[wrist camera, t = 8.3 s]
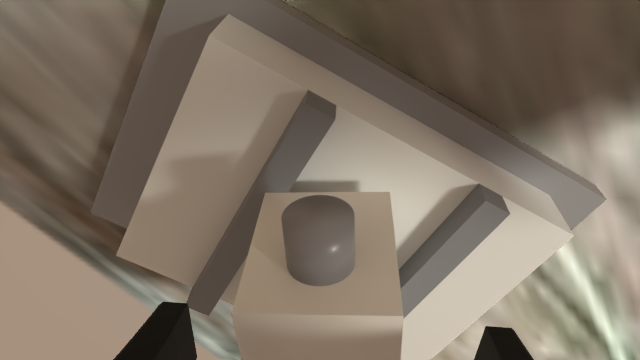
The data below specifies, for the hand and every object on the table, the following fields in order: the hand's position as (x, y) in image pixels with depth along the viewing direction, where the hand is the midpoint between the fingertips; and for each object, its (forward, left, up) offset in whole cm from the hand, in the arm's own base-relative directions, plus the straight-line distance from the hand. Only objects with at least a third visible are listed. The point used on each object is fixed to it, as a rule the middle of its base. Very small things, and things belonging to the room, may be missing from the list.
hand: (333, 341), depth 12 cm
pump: (-1, +2, -5) cm, 5 cm away
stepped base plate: (-1, +2, -9) cm, 10 cm away
